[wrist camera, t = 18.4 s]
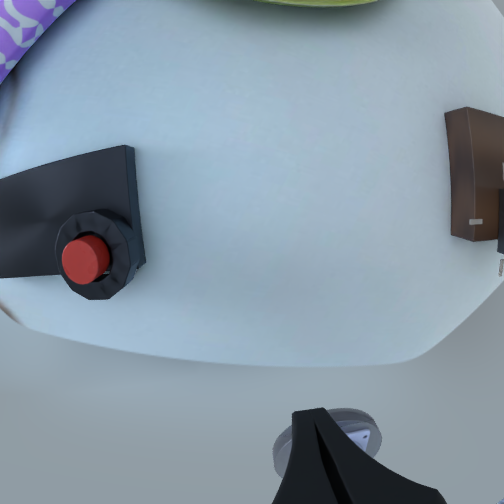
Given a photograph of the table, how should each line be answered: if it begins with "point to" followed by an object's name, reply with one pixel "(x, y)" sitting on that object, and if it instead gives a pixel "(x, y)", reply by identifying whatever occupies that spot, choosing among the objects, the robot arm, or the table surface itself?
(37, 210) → the button dock
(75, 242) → the dock button
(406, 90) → the table surface
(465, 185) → the stand
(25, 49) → the pencil case
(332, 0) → the green plate
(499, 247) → the stamp handle
